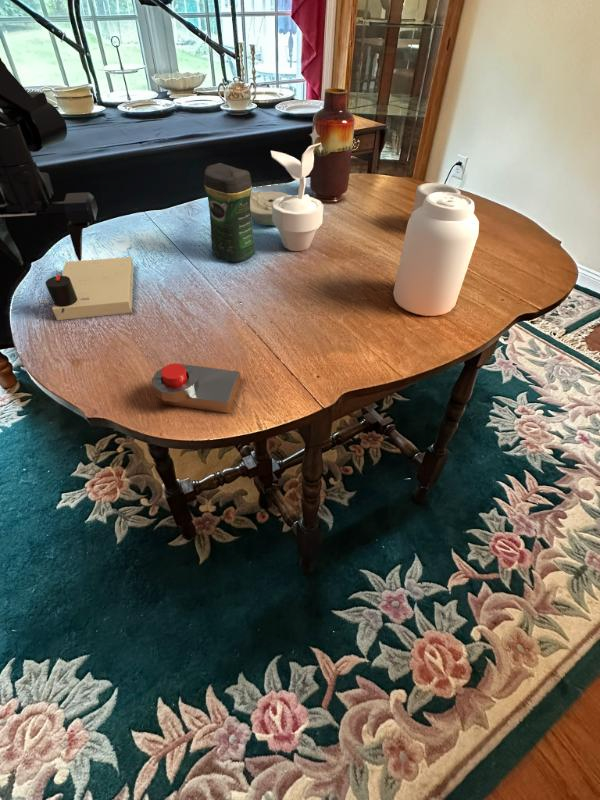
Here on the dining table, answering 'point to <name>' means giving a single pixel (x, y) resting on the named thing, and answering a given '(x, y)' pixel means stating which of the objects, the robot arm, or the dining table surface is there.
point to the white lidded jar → (436, 254)
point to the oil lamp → (263, 206)
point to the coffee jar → (230, 212)
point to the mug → (431, 188)
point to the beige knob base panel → (98, 288)
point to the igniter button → (174, 375)
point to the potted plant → (297, 203)
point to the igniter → (201, 389)
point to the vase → (332, 147)
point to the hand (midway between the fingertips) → (51, 261)
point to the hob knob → (61, 290)
